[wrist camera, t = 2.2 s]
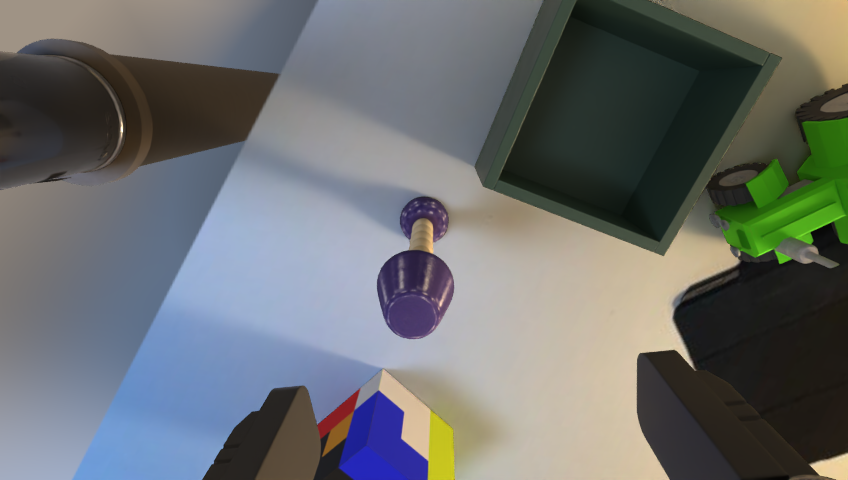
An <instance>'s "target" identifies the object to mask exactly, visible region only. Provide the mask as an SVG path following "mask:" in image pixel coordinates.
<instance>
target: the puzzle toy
mask: <svg viewBox="0 0 848 480" xmlns="http://www.w3.org/2000/svg"><path fill="white" fill-rule="evenodd" d="M317 427H318V430H319V434H320V441H321V453H320V460H319V464H318V467H317V470H316V473H315V476H314V479H313V480H455V475H454V442H453V429H452V428H451V427H450V426H449V425H448V424H447V423H445V422H444V421H443V420H442V419H441V418H440V417H438V416H437V415H436V414H435V413H434V412H433V411H432V410H430V409H429V408H428V407H427V406H426V405H425V404H423V403H422V402H421V401H420V400H419V399H418V398H417V397H415V396H414V395H413V394H412V393H411V392H410V391H408V390H407V389H406V388H405V387H404V386H403V385H402V384H400V383H399V382H398V381H397V380H396V379H395V378H393V377H392V376H391V375H390V374H389V373H388V372H386V371H385V370H384V369H382V370H381V371H380V372H379V373H377V374H376V375H375V376H374V377H373V378H372V379H370V380H369V381H368V382H367V383H366V384H365V385H363V386H362V387H361V388H360V389H359V390H358V391H356V392H355V393H354V394H353V395H352V396H351V397H349V398H348V399H347V400H346V401H345V402H344V403H342V404H341V405H340V406H339V407H338V408H337V409H335V410H334V411H333V412H332V413H331V414H330V415H328V416H327V417H326V418H325V419H324V420H323V421H321V422H320V423H319V424H318V425H317Z"/></svg>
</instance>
